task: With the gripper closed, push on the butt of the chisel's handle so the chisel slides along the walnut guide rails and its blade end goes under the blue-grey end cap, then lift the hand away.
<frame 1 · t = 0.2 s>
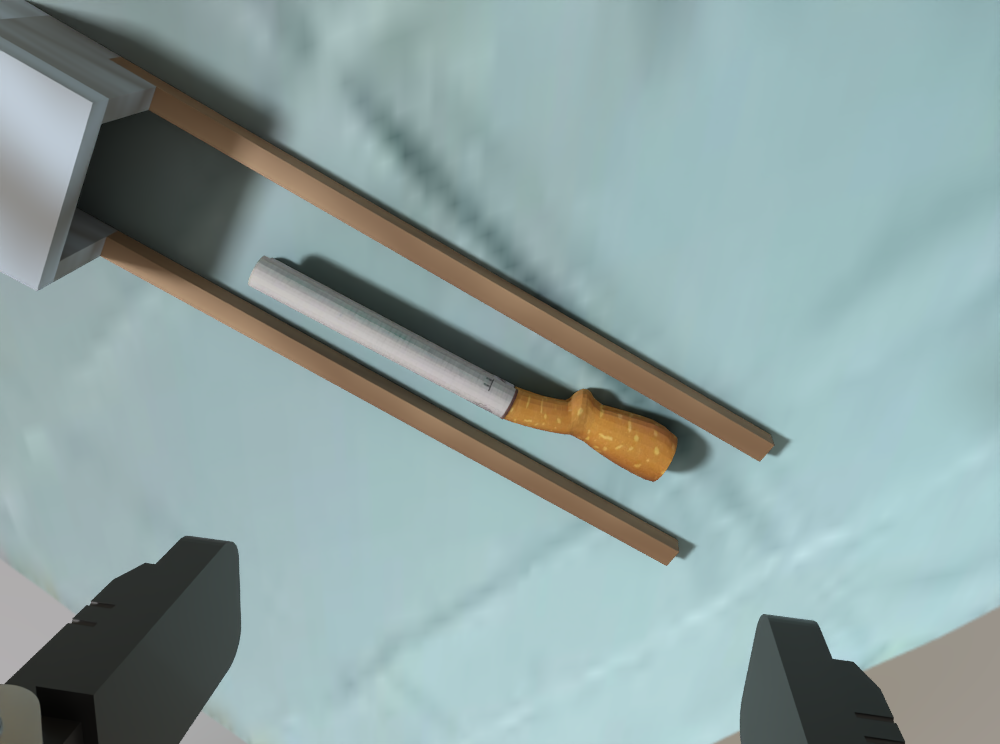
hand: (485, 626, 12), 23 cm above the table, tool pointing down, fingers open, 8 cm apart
chisel: (473, 351, 36), on the table
holder: (370, 302, 35), on the table
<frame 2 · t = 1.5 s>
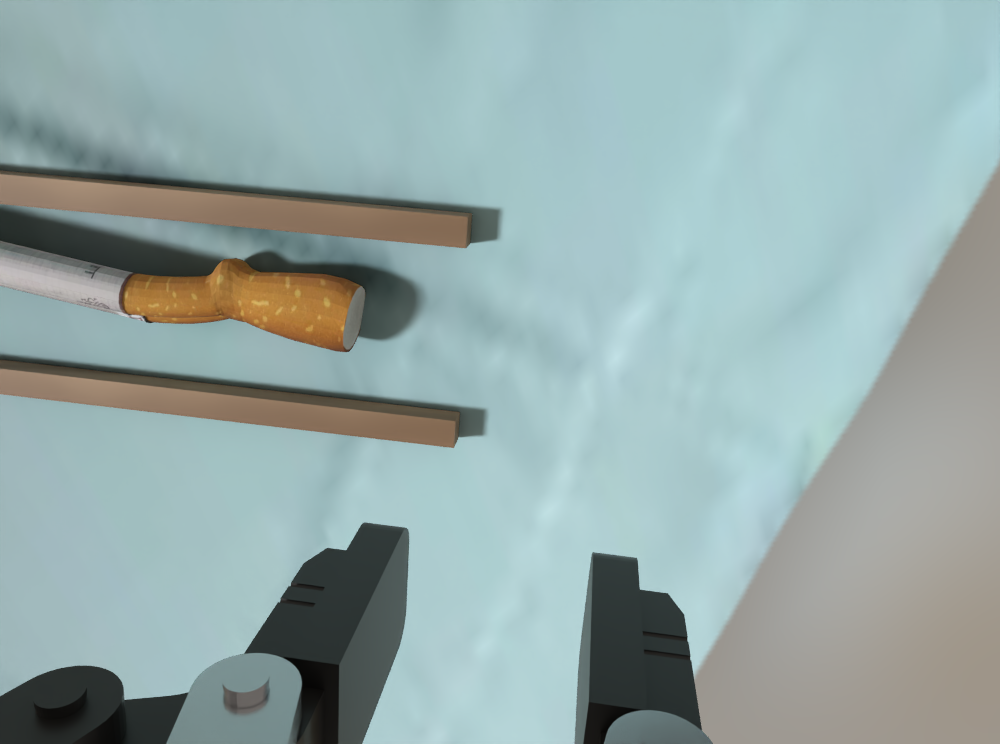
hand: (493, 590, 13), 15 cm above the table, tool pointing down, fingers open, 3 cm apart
chisel: (109, 260, 29), on the table
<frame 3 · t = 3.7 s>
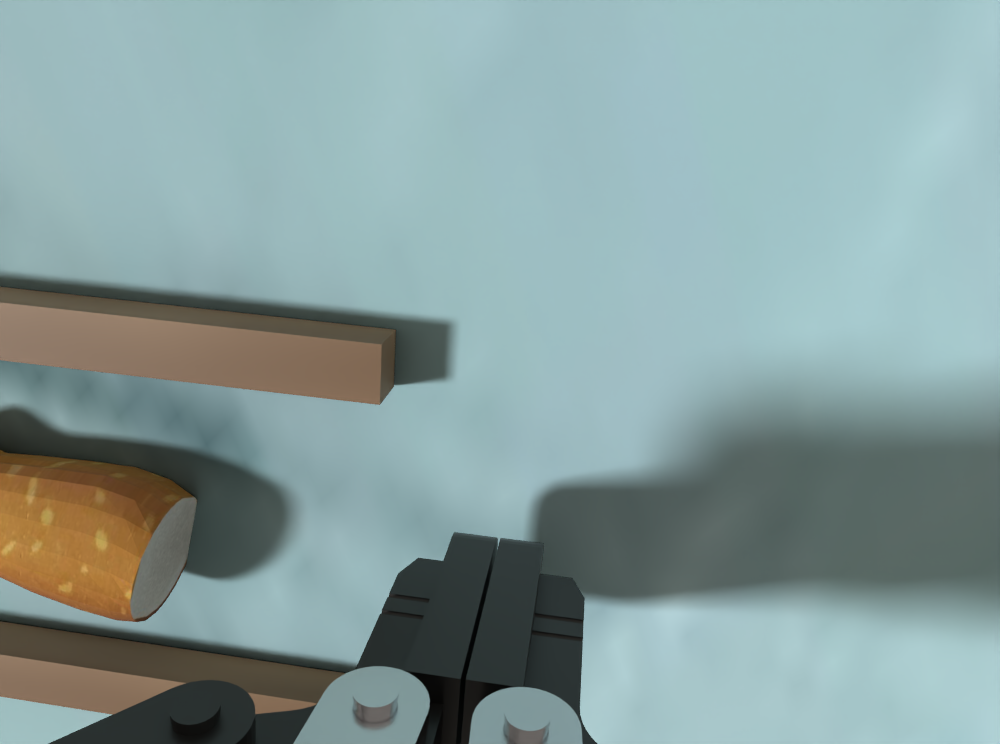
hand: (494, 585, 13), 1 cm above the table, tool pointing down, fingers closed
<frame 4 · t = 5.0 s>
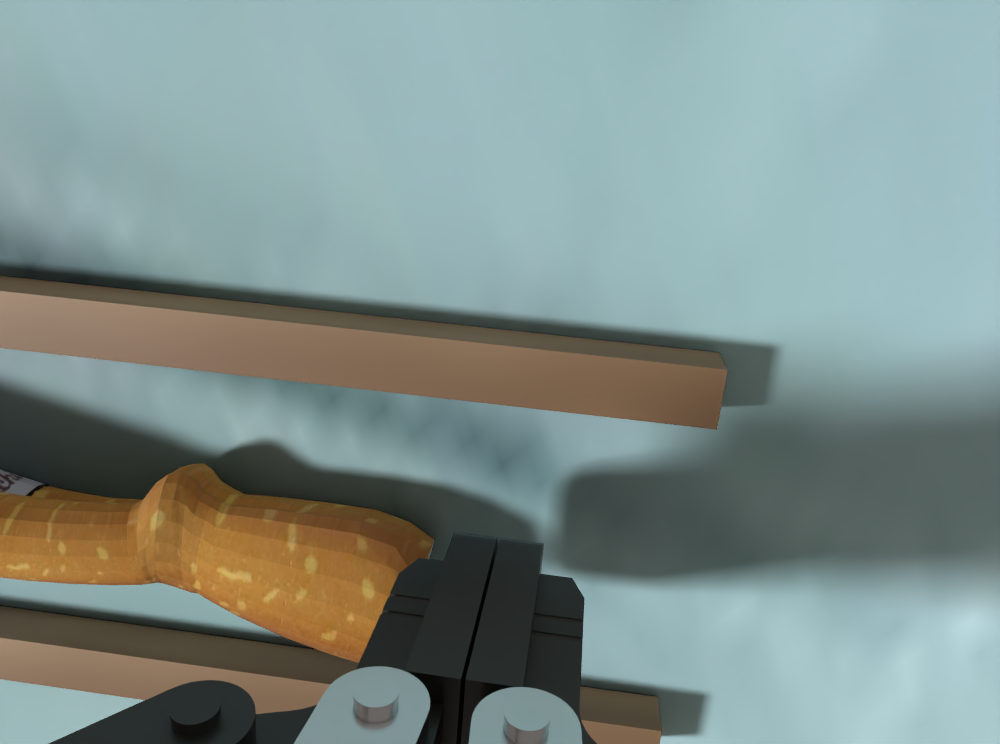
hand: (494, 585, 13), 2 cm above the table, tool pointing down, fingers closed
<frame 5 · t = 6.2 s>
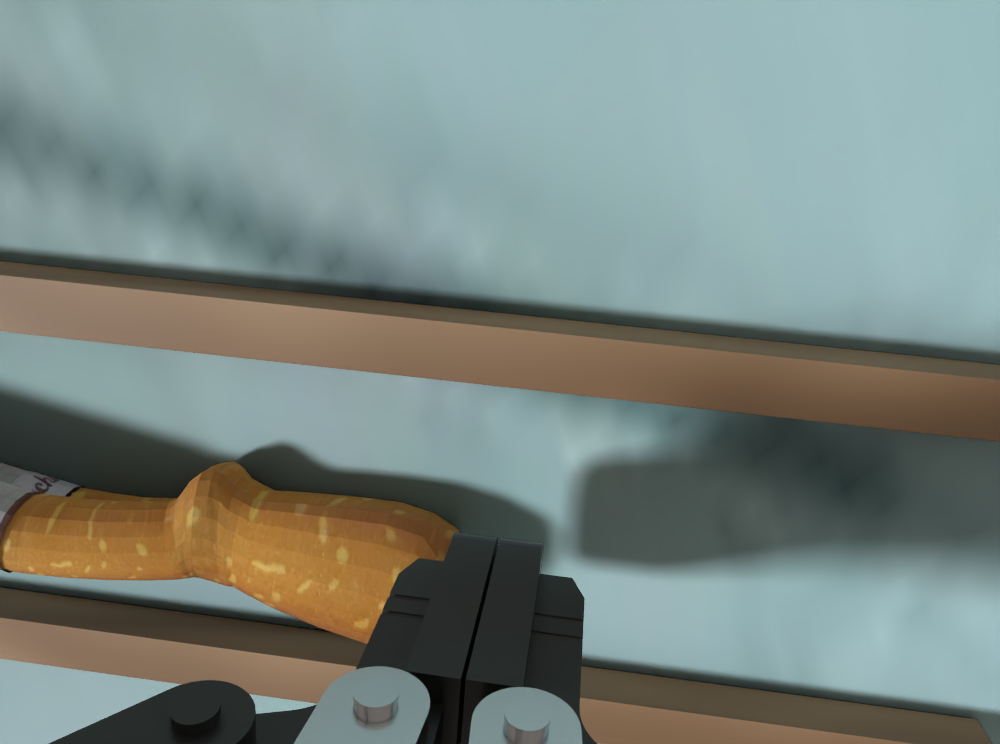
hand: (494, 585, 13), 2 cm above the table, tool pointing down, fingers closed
holder: (63, 467, 16), on the table
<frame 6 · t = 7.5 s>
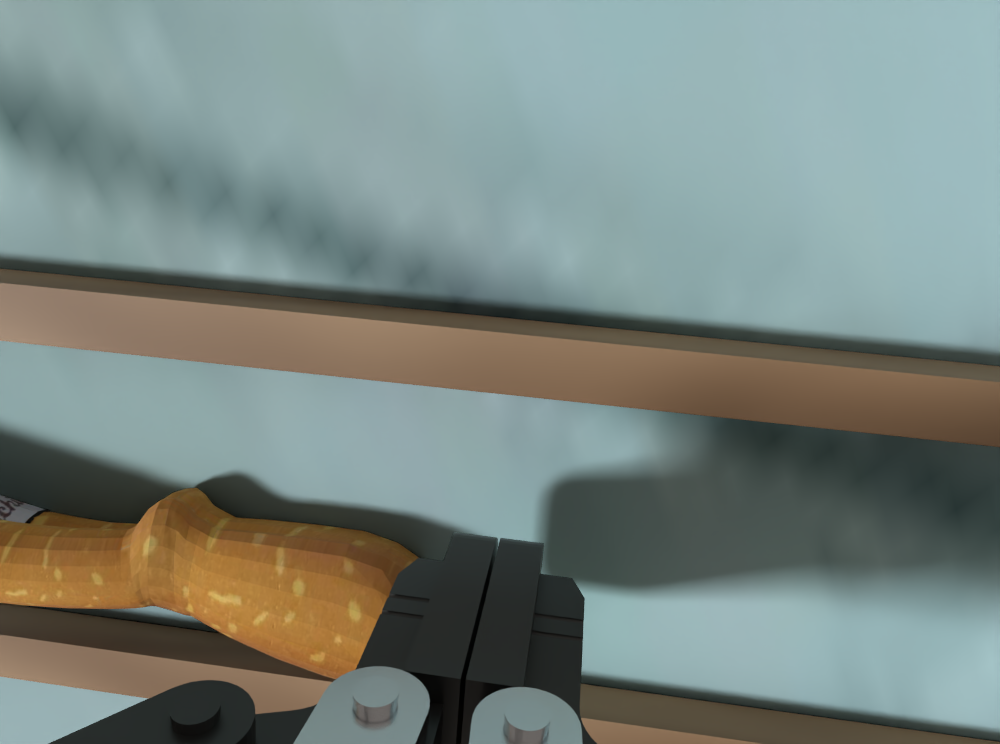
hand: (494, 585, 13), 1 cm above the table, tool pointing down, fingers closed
holder: (129, 487, 15), on the table
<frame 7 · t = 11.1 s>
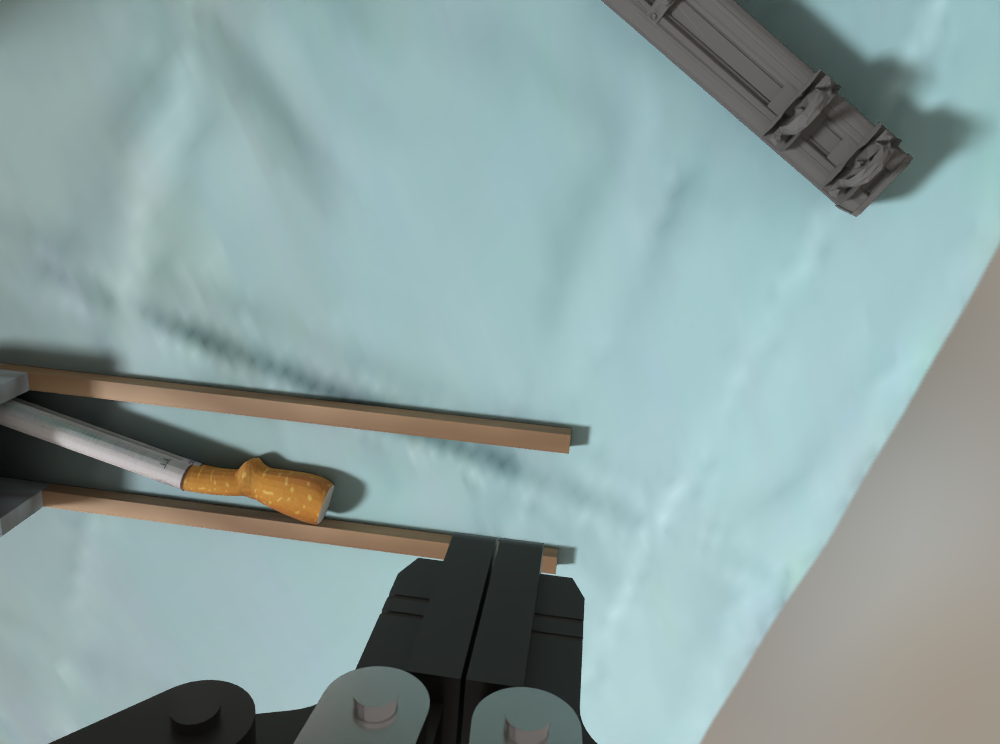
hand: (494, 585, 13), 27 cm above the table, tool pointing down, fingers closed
chisel: (171, 442, 45), on the table
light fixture: (738, 73, 36), on the table
holder: (235, 458, 44), on the table
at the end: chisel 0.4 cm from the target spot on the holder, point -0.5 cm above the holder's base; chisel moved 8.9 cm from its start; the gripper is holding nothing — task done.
